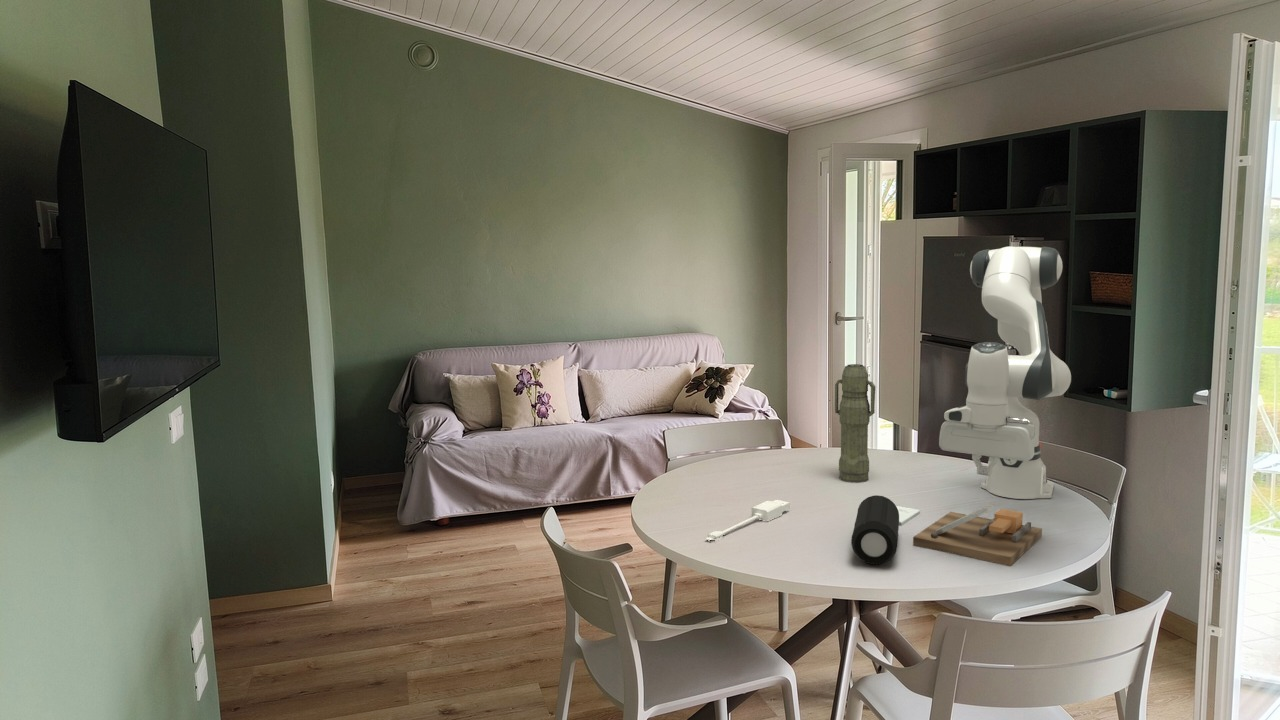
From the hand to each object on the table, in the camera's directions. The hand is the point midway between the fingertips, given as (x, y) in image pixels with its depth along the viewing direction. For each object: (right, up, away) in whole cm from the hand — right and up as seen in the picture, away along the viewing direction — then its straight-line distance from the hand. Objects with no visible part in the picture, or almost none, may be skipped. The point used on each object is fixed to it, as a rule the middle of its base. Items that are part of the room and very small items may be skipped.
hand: (984, 474), depth 190 cm
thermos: (-13, -10, +65) cm, 67 cm away
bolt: (+8, -15, +7) cm, 18 cm away
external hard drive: (-12, -16, +28) cm, 34 cm away
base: (+2, -17, +9) cm, 19 cm away
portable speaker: (-23, -18, +6) cm, 30 cm away
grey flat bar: (-3, -12, +4) cm, 13 cm away
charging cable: (-51, -17, +24) cm, 59 cm away
